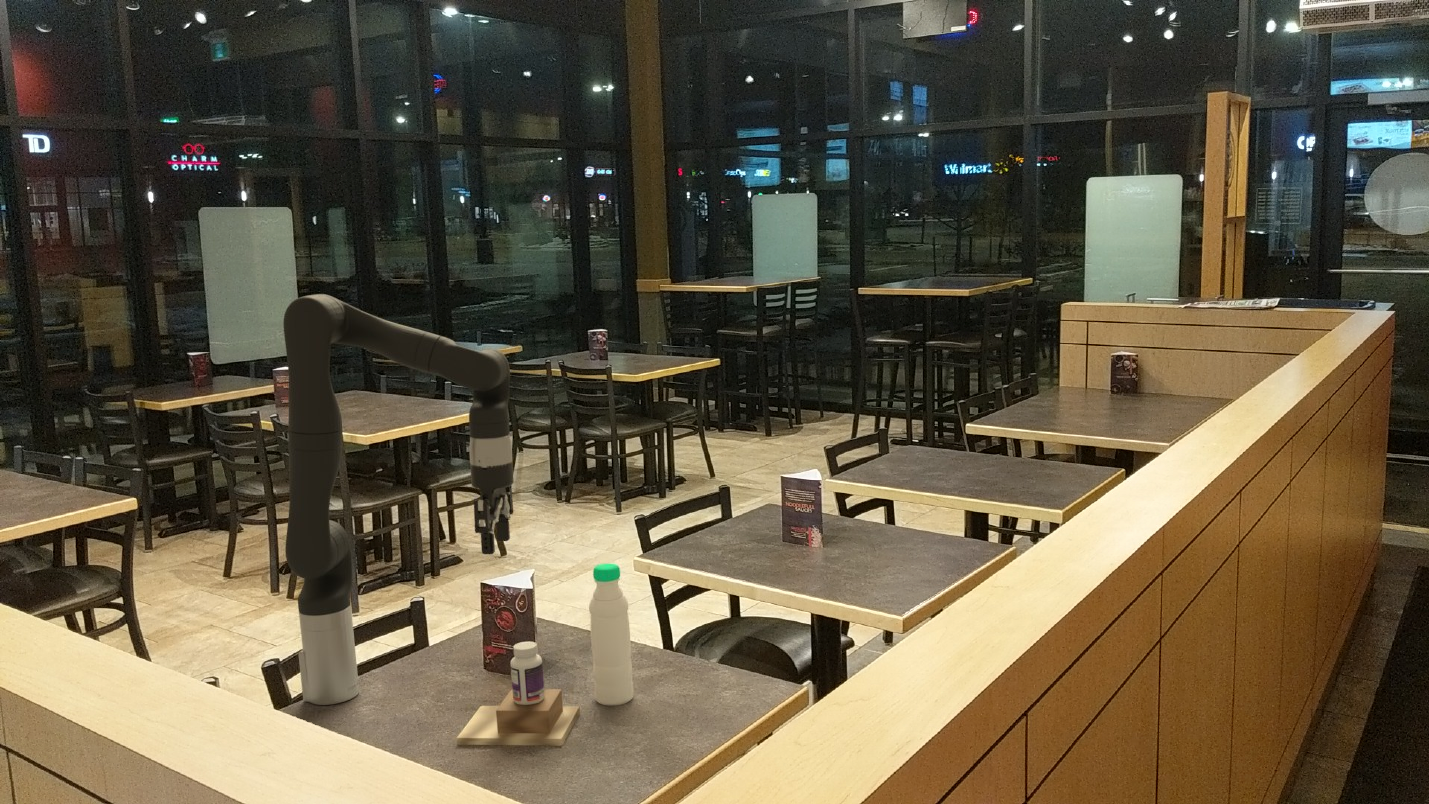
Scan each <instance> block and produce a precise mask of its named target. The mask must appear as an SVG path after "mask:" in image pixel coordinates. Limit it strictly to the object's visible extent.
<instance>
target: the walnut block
mask: <svg viewBox="0 0 1429 804" xmlns="http://www.w3.org/2000/svg"><path fill="white" fill-rule="evenodd" d="M544 690H545V697H544V699H543V700H542V701H541V702H539V703H536V704H532V705H519V704H516V703H515V702H514V700H513V690H512V689H510V691H509V692H508V694H507V695H506V696H505V697H504V699H503V700H502V702H501V703H500V705H498V706H499V707H498V708H497V710H496V717H497V730H498V733H550V732H551V730H552V729H553V727H554V725H555V724H556V722H557V720H558V719H559V717H560V715H561V713H562V712H563V694H562V689H560V688H559V689H558V688H557V689H553V688H552V689H551V688H544Z"/></svg>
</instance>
